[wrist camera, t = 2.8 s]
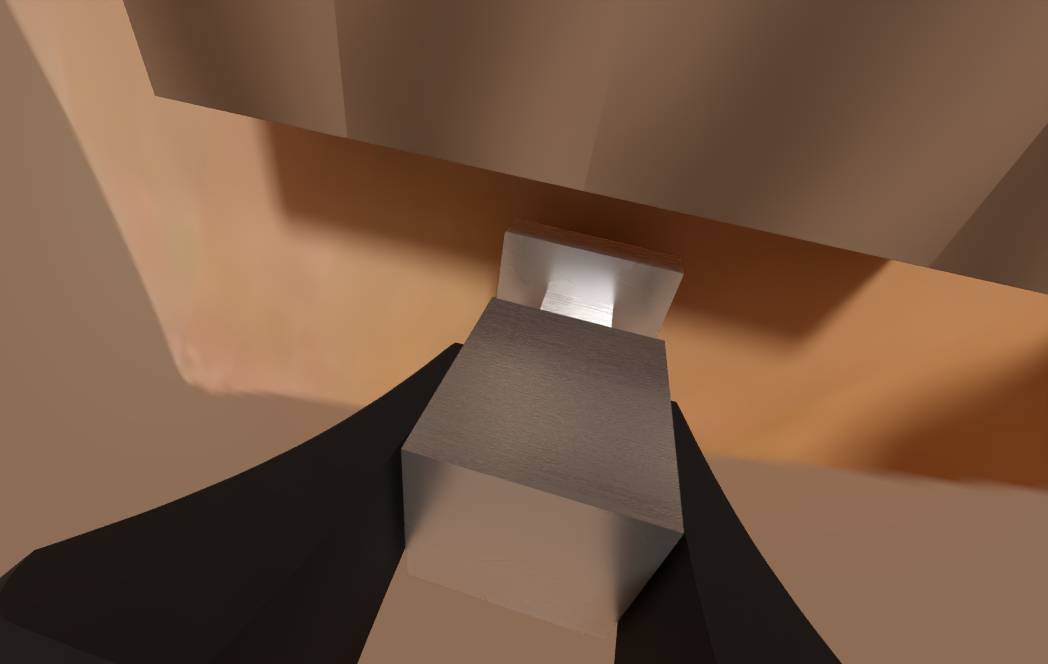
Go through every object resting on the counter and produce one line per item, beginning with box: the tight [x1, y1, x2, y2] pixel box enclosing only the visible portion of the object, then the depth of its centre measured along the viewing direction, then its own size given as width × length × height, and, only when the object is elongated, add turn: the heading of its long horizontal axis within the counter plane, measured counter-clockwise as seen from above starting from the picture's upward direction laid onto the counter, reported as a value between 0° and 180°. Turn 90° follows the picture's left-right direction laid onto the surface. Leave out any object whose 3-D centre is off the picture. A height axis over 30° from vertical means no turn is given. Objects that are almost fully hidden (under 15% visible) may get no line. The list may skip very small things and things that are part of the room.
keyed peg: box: [401, 218, 684, 640], centre depth 10 cm, size 5×5×8 cm
